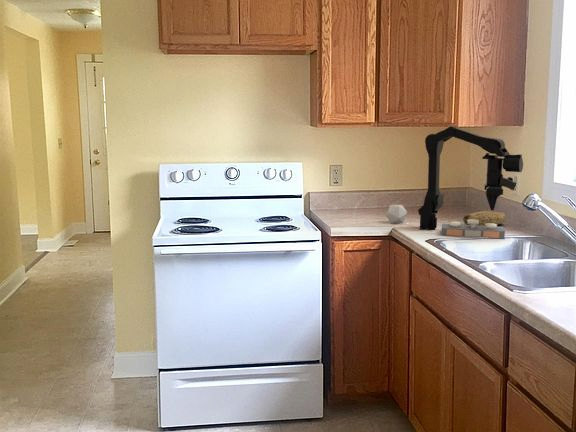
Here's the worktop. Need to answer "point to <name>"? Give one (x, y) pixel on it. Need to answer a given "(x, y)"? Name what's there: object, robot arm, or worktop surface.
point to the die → (396, 214)
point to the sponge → (486, 217)
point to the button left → (454, 224)
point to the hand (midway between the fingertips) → (492, 210)
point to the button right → (490, 225)
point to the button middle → (472, 222)
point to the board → (473, 231)
